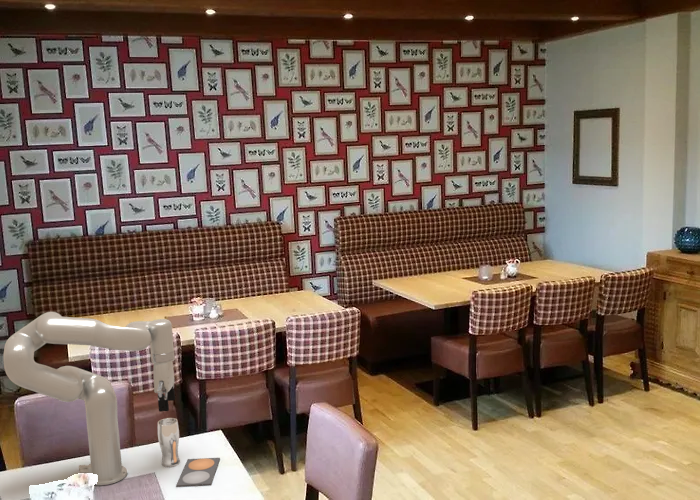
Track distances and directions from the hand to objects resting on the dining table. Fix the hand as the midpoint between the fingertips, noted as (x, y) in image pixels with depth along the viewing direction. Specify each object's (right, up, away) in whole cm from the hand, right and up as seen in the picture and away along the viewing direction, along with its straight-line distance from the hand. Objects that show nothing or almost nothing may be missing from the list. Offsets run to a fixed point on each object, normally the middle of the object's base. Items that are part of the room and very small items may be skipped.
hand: (167, 405), depth 239 cm
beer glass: (0, -21, +3) cm, 21 cm away
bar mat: (+12, -21, -5) cm, 24 cm away
